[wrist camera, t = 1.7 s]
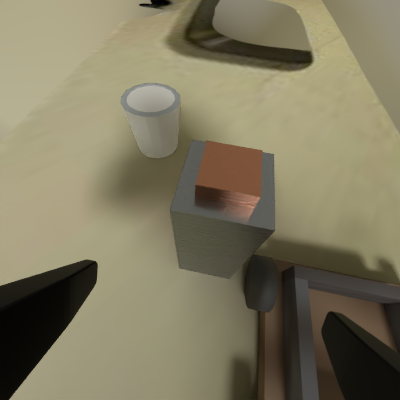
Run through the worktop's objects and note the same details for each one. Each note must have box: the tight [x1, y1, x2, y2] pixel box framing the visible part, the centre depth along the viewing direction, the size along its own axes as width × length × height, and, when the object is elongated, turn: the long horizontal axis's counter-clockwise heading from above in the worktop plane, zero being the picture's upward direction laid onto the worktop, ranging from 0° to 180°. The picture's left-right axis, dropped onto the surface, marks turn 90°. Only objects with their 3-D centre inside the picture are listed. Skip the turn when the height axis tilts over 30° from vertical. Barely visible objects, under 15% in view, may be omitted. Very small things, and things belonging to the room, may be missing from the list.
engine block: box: [170, 140, 275, 279], centre depth 15 cm, size 5×5×13 cm
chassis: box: [245, 255, 400, 400], centre depth 14 cm, size 16×16×4 cm
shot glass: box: [121, 83, 180, 158], centre depth 26 cm, size 7×7×7 cm
